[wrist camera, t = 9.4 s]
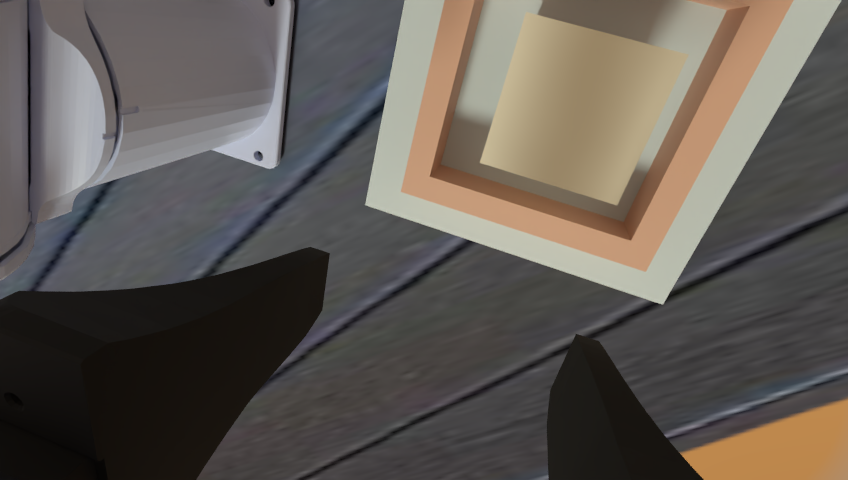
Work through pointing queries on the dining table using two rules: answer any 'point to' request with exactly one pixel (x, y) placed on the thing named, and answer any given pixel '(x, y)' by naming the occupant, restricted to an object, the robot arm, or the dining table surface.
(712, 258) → the dining table surface
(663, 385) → the dining table surface
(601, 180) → the maple peg
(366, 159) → the dining table surface
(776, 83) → the collar board
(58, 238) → the dining table surface
